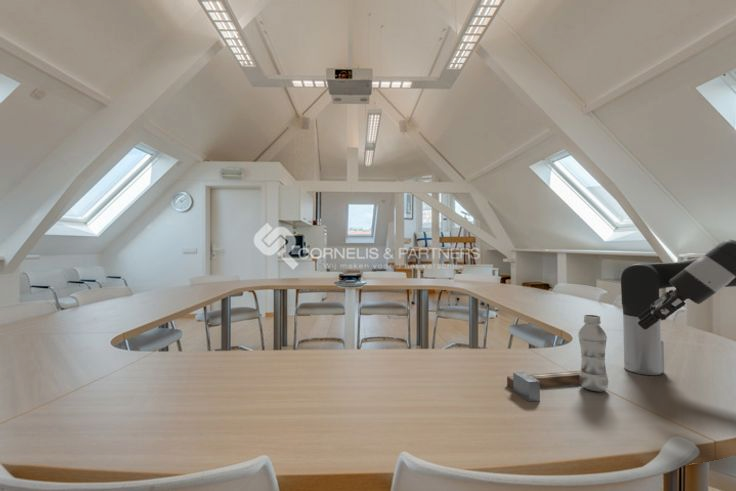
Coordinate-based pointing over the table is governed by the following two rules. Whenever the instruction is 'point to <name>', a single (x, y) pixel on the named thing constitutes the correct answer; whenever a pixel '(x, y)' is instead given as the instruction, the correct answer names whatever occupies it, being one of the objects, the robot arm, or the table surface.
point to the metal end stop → (526, 386)
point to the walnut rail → (552, 378)
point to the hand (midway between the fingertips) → (641, 323)
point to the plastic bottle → (593, 354)
